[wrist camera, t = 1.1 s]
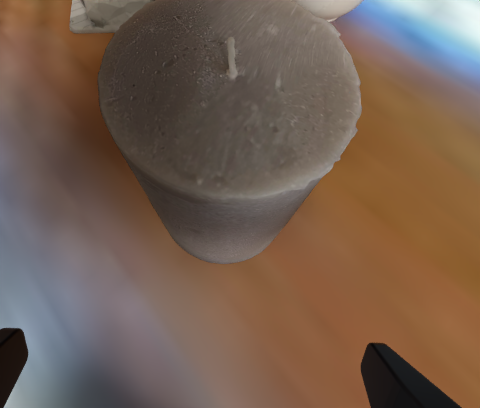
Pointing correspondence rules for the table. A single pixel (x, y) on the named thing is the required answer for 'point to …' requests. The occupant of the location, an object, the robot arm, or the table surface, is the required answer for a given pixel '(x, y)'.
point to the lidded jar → (329, 7)
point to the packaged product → (102, 14)
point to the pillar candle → (228, 115)
